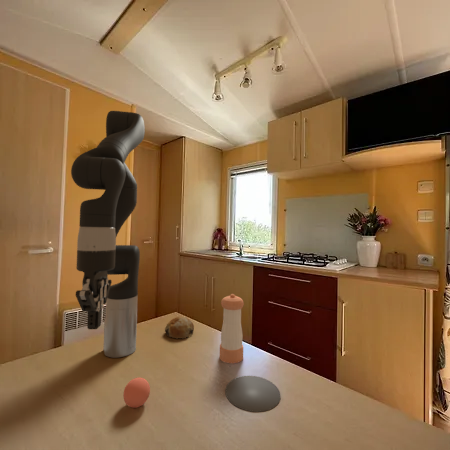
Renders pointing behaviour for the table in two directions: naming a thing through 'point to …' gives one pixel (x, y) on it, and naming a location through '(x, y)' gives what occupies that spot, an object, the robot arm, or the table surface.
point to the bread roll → (179, 327)
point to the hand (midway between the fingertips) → (94, 327)
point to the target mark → (253, 393)
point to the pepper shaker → (231, 330)
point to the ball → (136, 392)
